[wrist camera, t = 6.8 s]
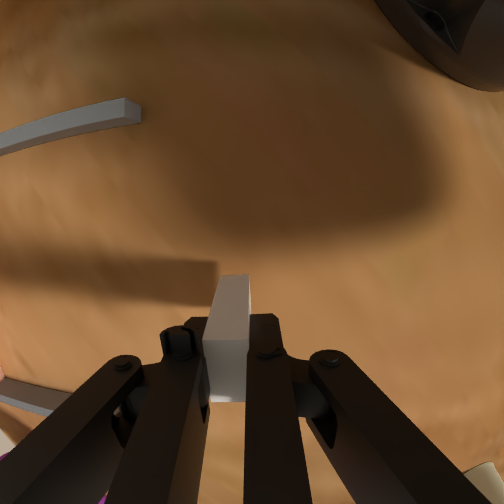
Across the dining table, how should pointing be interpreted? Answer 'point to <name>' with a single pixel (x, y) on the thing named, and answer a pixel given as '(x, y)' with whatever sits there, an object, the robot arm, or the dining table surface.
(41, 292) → the dining table surface
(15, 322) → the dining table surface
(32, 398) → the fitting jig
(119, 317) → the dining table surface
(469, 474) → the can
